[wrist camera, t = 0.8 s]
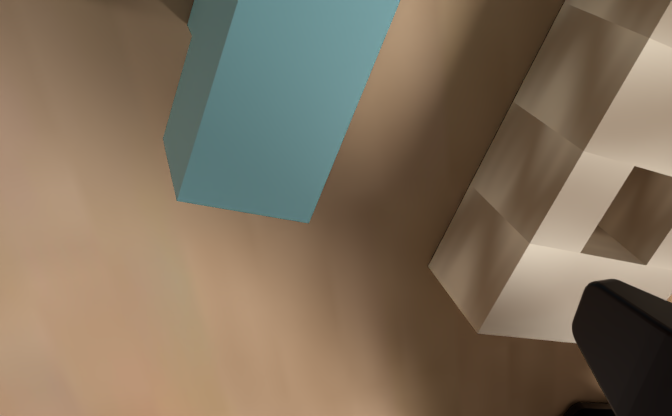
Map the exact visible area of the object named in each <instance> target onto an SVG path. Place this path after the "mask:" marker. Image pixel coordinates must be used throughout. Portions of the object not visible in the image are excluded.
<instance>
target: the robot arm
mask: <svg viewBox="0 0 672 416" xmlns="http://www.w3.org/2000/svg"><path fill="white" fill-rule="evenodd" d="M572 333H573V337H574V339H575V341H576V343H577V345H578V347H579V349H580V351H581V352H582V354H583V356H584V358H585V360H586V362H587V363H588V365H589V367H590V369H591V371H592V373H593V375H594V376H595V378H596V380H597V382H598V384H599V386H600V387H601V389H602V391H603V393H604V395H605V397H606V399H607V400H608V402H609V404H605V403H581V402H580V403H576V404H574V405H573V406H571V407H570V408H569V410H568V411H567V413H566V414H565V415H564V416H672V303H671V302H668V301H666V300H664V299H662V298H659V297H657V296H655V295H652V294H650V293H648V292H645V291H643V290H641V289H638V288H636V287H634V286H632V285H629V284H627V283H625V282H622V281H620V280H617V279H605V280H599V281H593V282H590V283H589V284H588V285H587V286H586V287H585V289H584V291H583V294H582V296H581V299H580V302H579V305H578V307H577V310H576V313H575V316H574V318H573V321H572Z"/></svg>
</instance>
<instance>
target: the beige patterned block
mask: <svg viewBox="0 0 672 416" xmlns="http://www.w3.org/2000/svg"><path fill="white" fill-rule="evenodd" d="M428 267H429V268H430V270H431V271H432V272H433V274H434V275H435V277H436V278H437V279H438V281H439V282H440V283H441V285H442V286H443V287H444V289H445V290H446V292H447V293H448V294H449V296H450V297H451V298H452V300H453V301H454V302H455V304H456V305H457V307H458V308H459V309H460V311H461V312H462V313H463V315H464V316H465V317H466V319H467V320H468V322H469V323H470V324H471V326H472V327H473V328H474V330H475V331H476V332H477V334H487V335H498V336H508V337H518V338H528V339H538V340H548V341H559V342H569V343H576V341H575V339H574V337H573V333H572V321H573V318H574V316H575V313H576V310H577V307H578V305H579V302H580V299H581V296H582V294H583V291H584V289H585V287H586V286H587V285H588V284H589V283H590V282H593V281H599V280H605V279H617V280H620V281H622V282H625V283H627V284H629V285H632V286H634V287H636V288H638V289H641V290H643V291H645V292H648V293H650V294H652V295H655V296H657V297H659V298H662V299H664V300H666V301H667V299H668V298H669V297H670V295H671V294H672V0H565V2H564V4H563V6H562V8H561V9H560V11H559V13H558V15H557V17H556V19H555V21H554V23H553V25H552V27H551V29H550V31H549V33H548V35H547V37H546V39H545V41H544V42H543V44H542V46H541V48H540V50H539V52H538V54H537V56H536V58H535V60H534V62H533V64H532V66H531V68H530V70H529V72H528V74H527V75H526V77H525V79H524V81H523V83H522V85H521V87H520V89H519V91H518V93H517V95H516V97H515V99H514V101H513V103H512V105H511V107H510V108H509V110H508V112H507V114H506V116H505V118H504V120H503V122H502V124H501V126H500V128H499V130H498V132H497V134H496V136H495V138H494V139H493V141H492V143H491V145H490V147H489V149H488V151H487V153H486V155H485V157H484V159H483V161H482V163H481V165H480V167H479V169H478V171H477V172H476V174H475V176H474V178H473V180H472V182H471V184H470V186H469V188H468V190H467V192H466V194H465V196H464V198H463V200H462V202H461V204H460V205H459V207H458V209H457V211H456V213H455V215H454V217H453V219H452V221H451V223H450V225H449V227H448V229H447V231H446V233H445V235H444V237H443V238H442V240H441V242H440V244H439V246H438V248H437V250H436V252H435V254H434V256H433V258H432V260H431V262H430V264H429V266H428Z"/></svg>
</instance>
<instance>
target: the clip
mask: <svg viewBox="0 0 672 416" xmlns="http://www.w3.org/2000/svg"><path fill="white" fill-rule="evenodd" d="M399 2H400V0H194V3H193V6H192V10H191V14H190V17H189V21H188V24H187V26H188V28H189V30H190V32H191V35H192V38H191V42H190V45H189V49H188V52H187V56H186V59H185V63H184V66H183V70H182V73H181V77H180V80H179V84H178V87H177V91H176V95H175V98H174V102H173V105H172V109H171V112H170V116H169V119H168V123H167V126H166V130H165V133H164V137H163V141H164V146H165V150H166V155H167V159H168V164H169V168H170V173H171V177H172V182H173V186H174V190H175V195H176V199H177V201H181V202H187V203H192V204H198V205H204V206H210V207H216V208H222V209H228V210H233V211H239V212H245V213H251V214H257V215H263V216H268V217H274V218H280V219H286V220H292V221H298V222H304V223H309V222H310V219H311V217H312V214H313V212H314V210H315V207H316V205H317V202H318V200H319V197H320V195H321V192H322V190H323V188H324V185H325V183H326V180H327V178H328V175H329V173H330V170H331V168H332V166H333V163H334V161H335V158H336V156H337V153H338V151H339V149H340V146H341V144H342V141H343V139H344V136H345V134H346V131H347V129H348V127H349V124H350V122H351V119H352V117H353V114H354V112H355V109H356V107H357V105H358V102H359V100H360V97H361V95H362V92H363V90H364V88H365V85H366V83H367V80H368V78H369V75H370V73H371V70H372V68H373V66H374V63H375V61H376V58H377V56H378V53H379V51H380V48H381V46H382V44H383V41H384V39H385V36H386V34H387V31H388V29H389V27H390V24H391V22H392V19H393V17H394V14H395V12H396V9H397V7H398V5H399Z"/></svg>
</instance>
